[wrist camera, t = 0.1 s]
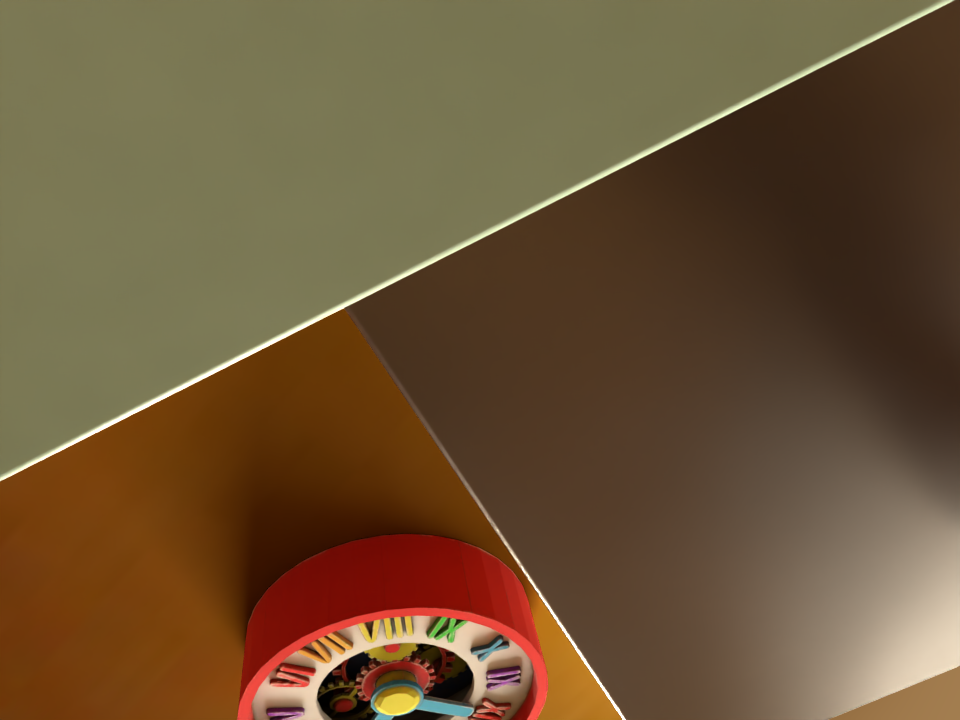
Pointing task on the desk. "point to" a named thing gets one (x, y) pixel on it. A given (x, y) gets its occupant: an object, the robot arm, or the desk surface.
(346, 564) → the toy clock
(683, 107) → the pencil tin
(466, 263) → the shelf stand
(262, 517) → the desk surface
